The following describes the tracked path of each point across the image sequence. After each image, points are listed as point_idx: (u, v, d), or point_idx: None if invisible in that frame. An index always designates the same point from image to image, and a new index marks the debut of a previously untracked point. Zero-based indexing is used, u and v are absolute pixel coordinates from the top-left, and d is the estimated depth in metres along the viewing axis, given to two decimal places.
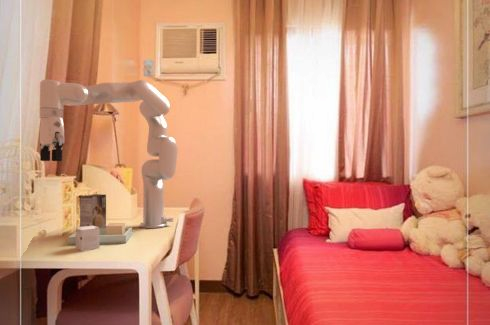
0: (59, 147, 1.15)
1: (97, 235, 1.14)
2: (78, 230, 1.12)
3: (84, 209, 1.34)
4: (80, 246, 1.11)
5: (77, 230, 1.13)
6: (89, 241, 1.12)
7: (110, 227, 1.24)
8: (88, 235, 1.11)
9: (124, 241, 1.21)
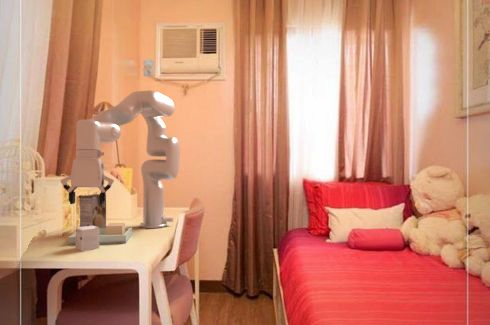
0: (107, 189, 1.15)
1: (97, 235, 1.14)
2: (78, 230, 1.12)
3: (84, 209, 1.34)
4: (80, 246, 1.11)
5: (77, 230, 1.13)
6: (89, 241, 1.12)
7: (110, 227, 1.24)
8: (88, 235, 1.11)
9: (124, 241, 1.21)
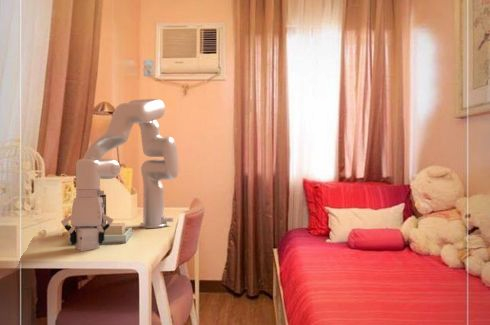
0: None
1: (97, 235, 1.13)
2: (78, 230, 1.12)
3: None
4: (80, 246, 1.11)
5: (77, 230, 1.13)
6: (89, 241, 1.12)
7: (110, 227, 1.24)
8: (88, 235, 1.11)
9: (124, 241, 1.21)
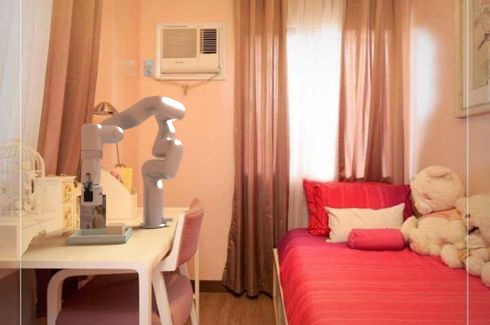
0: None
1: None
2: (94, 188, 1.23)
3: (84, 209, 1.34)
4: (99, 201, 1.25)
5: None
6: None
7: (110, 227, 1.24)
8: None
9: (124, 241, 1.21)
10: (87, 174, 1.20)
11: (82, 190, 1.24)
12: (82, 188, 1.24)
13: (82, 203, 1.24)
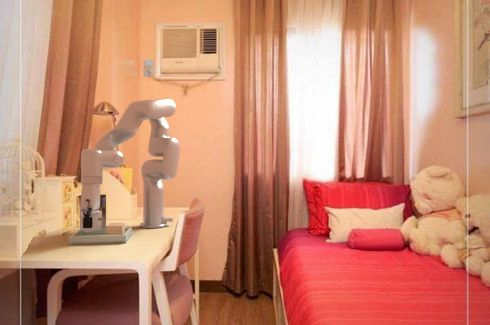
0: None
1: None
2: (93, 213, 1.23)
3: None
4: (98, 226, 1.25)
5: None
6: None
7: (110, 227, 1.24)
8: None
9: (124, 241, 1.21)
10: (87, 200, 1.20)
11: (81, 215, 1.24)
12: (81, 213, 1.24)
13: (81, 229, 1.24)
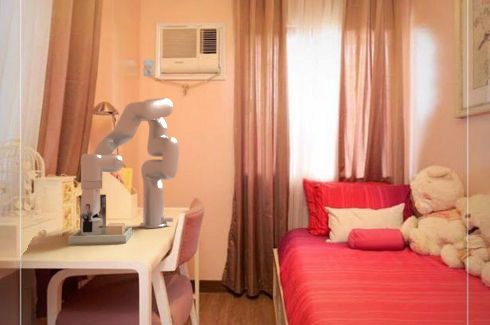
0: None
1: None
2: (94, 221, 1.24)
3: None
4: (99, 234, 1.25)
5: None
6: None
7: (110, 227, 1.24)
8: None
9: (124, 241, 1.21)
10: (87, 205, 1.20)
11: (82, 223, 1.25)
12: (82, 221, 1.25)
13: None
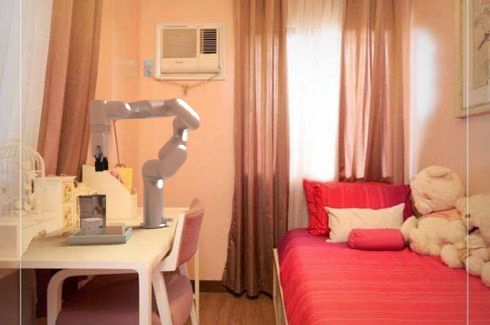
0: None
1: None
2: (94, 221, 1.24)
3: (84, 209, 1.34)
4: (99, 234, 1.25)
5: (91, 222, 1.23)
6: None
7: (110, 227, 1.24)
8: None
9: (124, 241, 1.21)
10: (97, 146, 1.30)
11: (82, 223, 1.25)
12: (82, 221, 1.25)
13: None
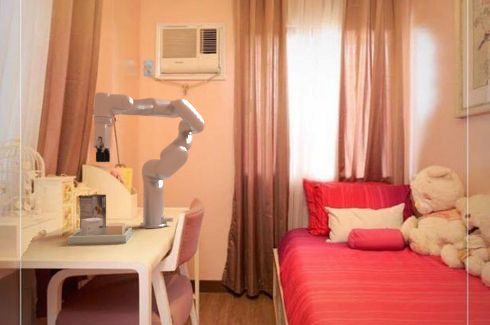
0: None
1: None
2: (94, 221, 1.24)
3: (84, 209, 1.34)
4: (99, 234, 1.25)
5: (91, 222, 1.23)
6: None
7: (110, 227, 1.24)
8: None
9: (124, 241, 1.21)
10: (99, 137, 1.33)
11: (82, 223, 1.25)
12: (82, 221, 1.25)
13: None
